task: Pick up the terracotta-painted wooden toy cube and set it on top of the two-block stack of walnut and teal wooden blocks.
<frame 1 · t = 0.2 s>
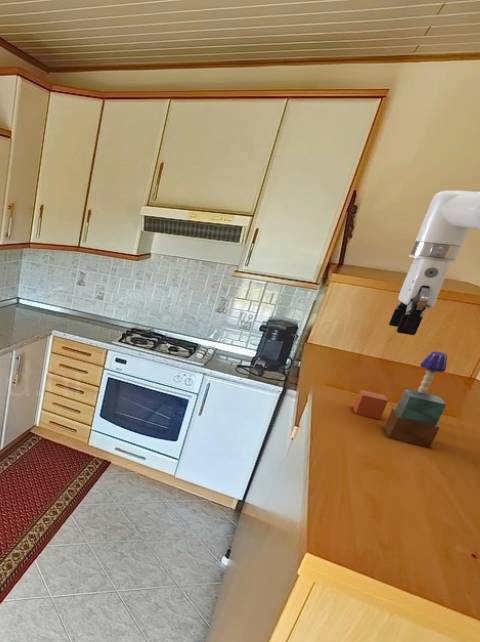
hand: (401, 330, 110), 22 cm above the worktop, tool pointing down, fingers open, 9 cm apart
toy lamp: (410, 416, 123), on the worktop
toy cube: (366, 413, 122), on the worktop
block stack: (405, 437, 109), on the worktop
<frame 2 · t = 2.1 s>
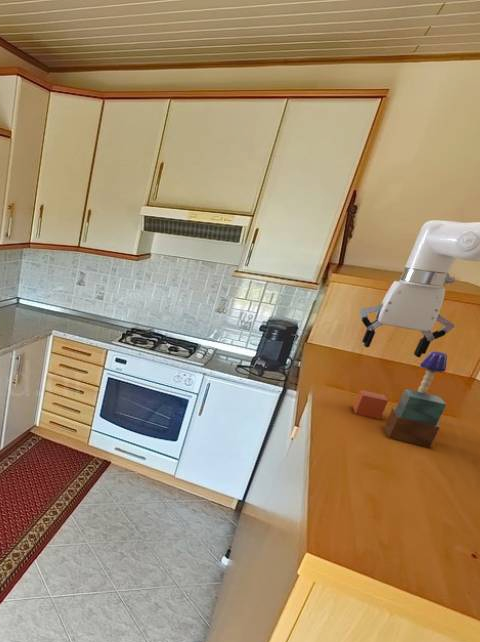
hand: (391, 350, 116), 16 cm above the worktop, tool pointing down, fingers open, 9 cm apart
nothing on the worktop moved.
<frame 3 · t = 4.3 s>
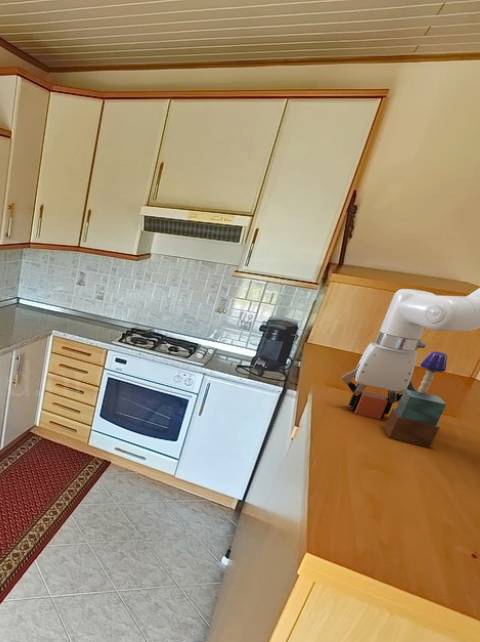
hand: (366, 411, 121), 0 cm above the worktop, tool pointing down, fingers closed on toy cube, 5 cm apart
toy cube: (366, 413, 122), on the worktop, touching gripper
everything else where it was.
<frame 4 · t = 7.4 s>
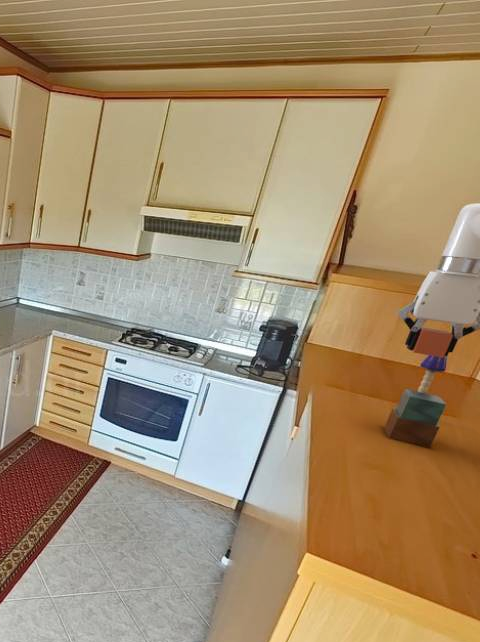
hand: (426, 351, 107), 19 cm above the worktop, tool pointing down, fingers closed on toy cube, 5 cm apart
toy cube: (425, 352, 107), point 19 cm above the worktop, touching gripper
everything else where it was.
when the fingers open (10 cm above the worktop, at t = 10.4 s): toy cube stays where it is, resting on block stack.
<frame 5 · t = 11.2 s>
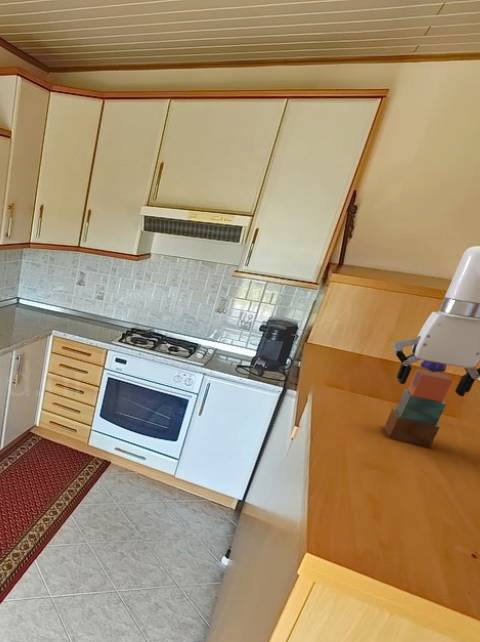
hand: (429, 388, 105), 12 cm above the worktop, tool pointing down, fingers open, 9 cm apart
toy cube: (424, 396, 106), point 10 cm above the worktop, touching block stack
block stack: (405, 437, 109), on the worktop, touching toy cube
everything else where it was.
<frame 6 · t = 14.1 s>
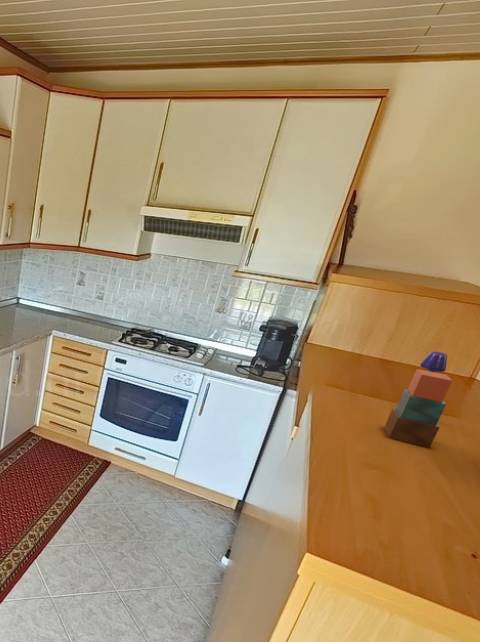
nothing on the worktop moved.
at the end: toy cube 0.1 cm off-centre on the block stack, point 10.0 cm above the block stack's base; toy cube tilted 0°; block stack moved 0.0 cm from its start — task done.
